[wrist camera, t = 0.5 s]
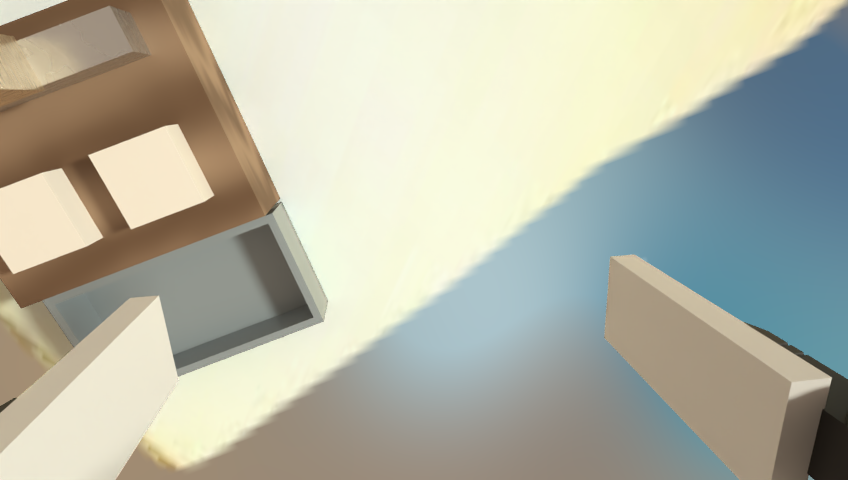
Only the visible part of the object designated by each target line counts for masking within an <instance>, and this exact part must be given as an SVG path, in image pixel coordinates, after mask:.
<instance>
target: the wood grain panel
mask: <svg viewBox="0 0 848 480" xmlns="http://www.w3.org/2000/svg"><path fill="white" fill-rule="evenodd" d="M107 6H112V7H115V8H117V9H120V10H123V11H126V12H129V13H131V15H132V17H133V19H134V21H135V23H136V25H137V27H138V29H139V31H140V33H141V35H142V37H143V39H144V41H145V43H146V45H147V47H148V49H149V51H150V53H151V55H150V56H147V57H145V58H142V59H139V60H137V61H134V62H132V63H129V64H126V65H124V66H121V67H118V68H116V69H113V70H110V71H108V72H105V73H102V74H100V75H97V76H95V77H92V78H89V79H87V80H84V81H81V82H79V83H76V84H73V85H71V86H68V87H66V88H63V89H60V90H58V91H55V92H52V93H50V94H47V95H44V96H42V97H39V98H37V99H34V100H31V101H29V102H26V103H23V104H21V105H18V106H15V107H13V108H10V109H7V110H5V111H2V112H0V188H3V187H6V186H8V185H11V184H14V183H16V182H19V181H21V180H24V179H27V178H29V177H32V176H35V175H37V174H40V173H43V172H47V171H52V170H56V169H60V168H62V170H63V171H64V173H65V175H66V176H67V178H68V180H69V181H70V183H71V185H72V186H73V188H74V190H75V191H76V193H77V195H78V196H79V198H80V200H81V201H82V203H83V205H84V206H85V208H86V210H87V211H88V213H89V215H90V216H91V218H92V220H93V221H94V223H95V225H96V226H97V228H98V229H99V231H100V233H101V234H102V236H103V238H101V239H100V240H98V241H96V242H94V243H92V244H90V245H88V246H86V247H84V248H81V249H78V250H76V251H73V252H70V253H68V254H65V255H63V256H60V257H57V258H55V259H52V260H49V261H47V262H44V263H41V264H39V265H36V266H34V267H31V268H28V269H26V270H23V271H20V272H18V273H15V274H13V273H12V272H11V270H10V269H9V267H8V266H7V264H6V263H5V261H4V260H3V258H2V257H1V255H0V279H1V280H2V282H3V283H4V285H5V286H6V287H7V289H8V290H9V292H10V293H11V295H12V296H13V297H14V299H15V300H16V302H17V303H18V305H19V306H20V308H24V307H26V306H29V305H31V304H34V303H37V302H39V301H42V300H45V299H47V298H50V297H53V296H55V295H58V294H60V293H63V292H66V291H68V290H71V289H74V288H76V287H79V286H82V285H84V284H87V283H89V282H92V281H95V280H97V279H100V278H103V277H105V276H108V275H111V274H113V273H116V272H118V271H121V270H124V269H126V268H129V267H132V266H134V265H137V264H140V263H142V262H145V261H147V260H150V259H153V258H155V257H158V256H161V255H163V254H166V253H169V252H171V251H174V250H176V249H179V248H182V247H184V246H187V245H190V244H192V243H195V242H198V241H200V240H203V239H205V238H208V237H211V236H213V235H216V234H219V233H221V232H224V231H227V230H229V229H232V228H234V227H237V226H240V225H242V224H245V223H248V222H250V221H253V220H256V219H258V218H261V217H263V216H265V215H266V214H267V213H268V212H269V211H270V210H271V208H272V207H273V206H274V205H275V204H276V203H277V202H278V200H279V199H280V197H279V195H278V193H277V191H276V188H275V186H274V184H273V182H272V180H271V178H270V176H269V173H268V171H267V169H266V167H265V165H264V163H263V160H262V158H261V156H260V154H259V152H258V150H257V148H256V145H255V143H254V141H253V139H252V137H251V135H250V133H249V130H248V128H247V126H246V124H245V122H244V120H243V118H242V115H241V113H240V111H239V109H238V107H237V105H236V103H235V100H234V98H233V96H232V94H231V92H230V90H229V88H228V85H227V83H226V81H225V79H224V77H223V75H222V73H221V70H220V68H219V66H218V64H217V62H216V60H215V57H214V55H213V53H212V51H211V49H210V47H209V45H208V42H207V40H206V38H205V36H204V34H203V32H202V30H201V27H200V25H199V23H198V21H197V19H196V17H195V15H194V12H193V10H192V8H191V6H190V4H189V2H188V0H68V1H65V2H62V3H60V4H57V5H54V6H52V7H49V8H46V9H44V10H41V11H39V12H36V13H33V14H31V15H28V16H25V17H23V18H20V19H17V20H15V21H12V22H10V23H7V24H4V25H2V26H0V34H3V35H8V36H14V38H15V40H16V41H18V40H20V39H23V38H26V37H28V36H31V35H33V34H36V33H39V32H41V31H44V30H47V29H49V28H52V27H55V26H57V25H60V24H62V23H65V22H68V21H70V20H73V19H76V18H78V17H81V16H84V15H86V14H89V13H92V12H94V11H97V10H99V9H102V8H105V7H107ZM175 124H178V125H179V127H180V129H181V131H182V133H183V135H184V137H185V139H186V141H187V143H188V145H189V147H190V149H191V151H192V153H193V155H194V157H195V159H196V161H197V163H198V165H199V167H200V168H201V170H202V172H203V174H204V176H205V178H206V180H207V182H208V184H209V186H210V188H211V190H212V192H213V194H214V196H213V197H211V198H209V199H208V200H206V201H205V202H202V203H200V204H197V205H194V206H192V207H189V208H186V209H184V210H181V211H179V212H176V213H173V214H171V215H168V216H165V217H163V218H160V219H157V220H155V221H152V222H150V223H147V224H144V225H142V226H139V227H136V228H134V229H131V228H130V227H129V225H128V223H127V222H126V220H125V218H124V216H123V215H122V213H121V211H120V209H119V208H118V206H117V204H116V203H115V201H114V199H113V197H112V196H111V194H110V192H109V190H108V189H107V187H106V185H105V184H104V182H103V180H102V178H101V177H100V175H99V173H98V171H97V170H96V168H95V166H94V165H93V163H92V161H91V159H90V158H89V156H88V155H90V154H93V153H95V152H98V151H101V150H103V149H106V148H108V147H111V146H114V145H116V144H119V143H122V142H124V141H127V140H130V139H132V138H135V137H137V136H140V135H143V134H145V133H148V132H151V131H153V130H156V129H159V128H161V127H164V126H168V125H175Z"/></svg>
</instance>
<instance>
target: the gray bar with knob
mask: <svg viewBox="0 0 848 480" xmlns="http://www.w3.org/2000/svg"><path fill="white" fill-rule="evenodd" d="M150 55H151V53H150V51H149V49H148V47H147V45H146V43H145V41H144V39H143V37H142V35H141V33H140V31H139V29H138V27H137V25H136V23H135V21H134V19H133V17H132V15H131V13H129V12H126V11H123V10H120V9H117V8H115V7H112V6H107V7H105V8H102V9H99V10H97V11H94V12H92V13H89V14H86V15H84V16H81V17H78V18H76V19H73V20H70V21H68V22H65V23H62V24H60V25H57V26H55V27H52V28H49V29H47V30H44V31H41V32H39V33H36V34H33V35H31V36H28V37H26V38H23V39H20V40H18V41H16V40H15V38H14V36H8V35H3V34H0V112H2V111H5V110H7V109H10V108H13V107H15V106H18V105H21V104H23V103H26V102H29V101H31V100H34V99H37V98H39V97H42V96H44V95H47V94H50V93H52V92H55V91H58V90H60V89H63V88H66V87H68V86H71V85H73V84H76V83H79V82H81V81H84V80H87V79H89V78H92V77H95V76H97V75H100V74H102V73H105V72H108V71H110V70H113V69H116V68H118V67H121V66H124V65H126V64H129V63H132V62H134V61H137V60H139V59H142V58H145V57H147V56H150Z"/></svg>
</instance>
